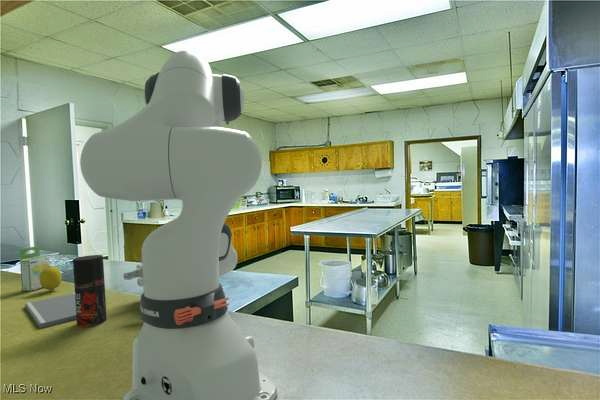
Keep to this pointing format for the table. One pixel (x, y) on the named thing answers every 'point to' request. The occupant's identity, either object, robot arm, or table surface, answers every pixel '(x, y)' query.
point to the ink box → (32, 268)
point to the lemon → (50, 278)
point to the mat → (53, 310)
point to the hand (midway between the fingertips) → (131, 279)
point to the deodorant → (89, 290)
